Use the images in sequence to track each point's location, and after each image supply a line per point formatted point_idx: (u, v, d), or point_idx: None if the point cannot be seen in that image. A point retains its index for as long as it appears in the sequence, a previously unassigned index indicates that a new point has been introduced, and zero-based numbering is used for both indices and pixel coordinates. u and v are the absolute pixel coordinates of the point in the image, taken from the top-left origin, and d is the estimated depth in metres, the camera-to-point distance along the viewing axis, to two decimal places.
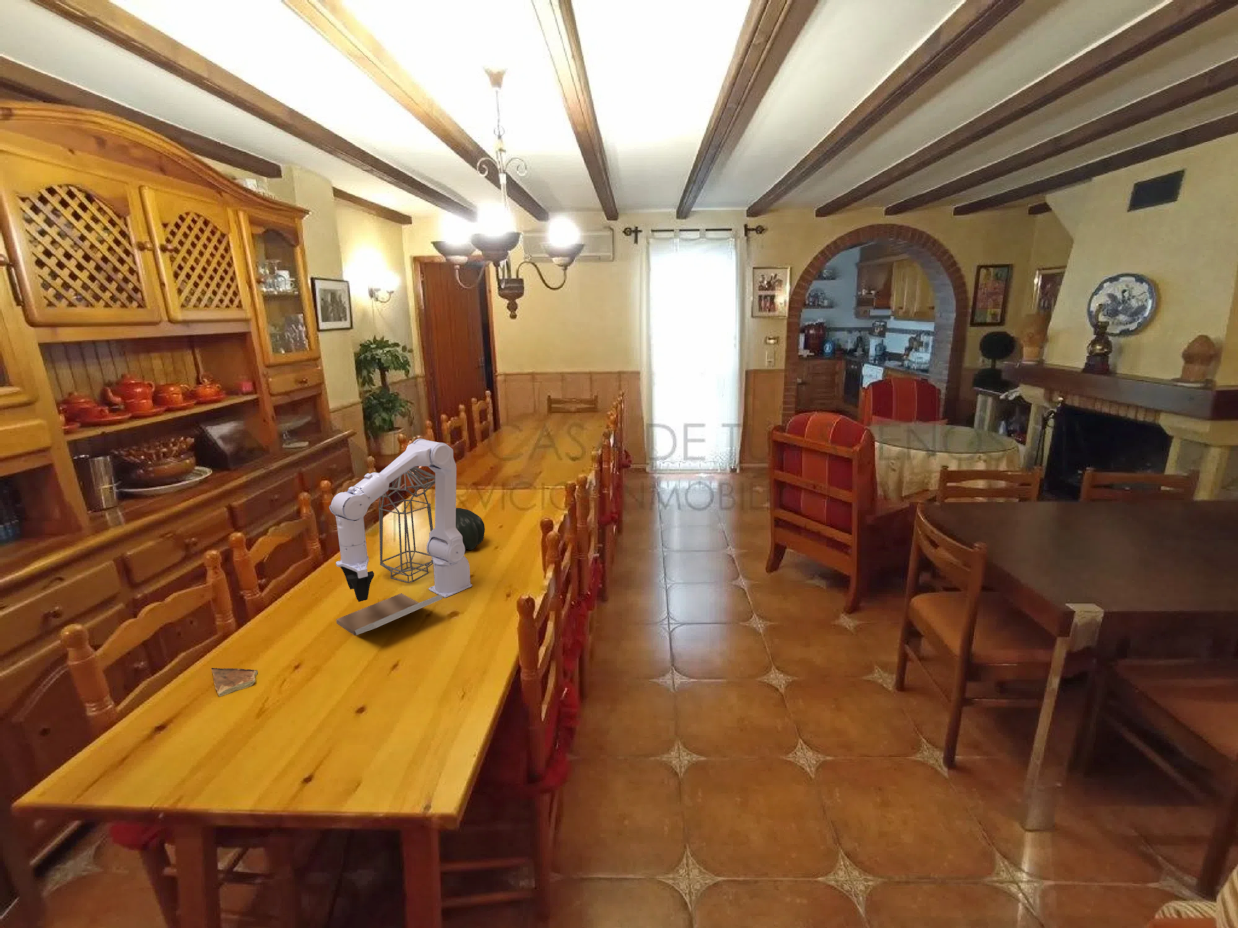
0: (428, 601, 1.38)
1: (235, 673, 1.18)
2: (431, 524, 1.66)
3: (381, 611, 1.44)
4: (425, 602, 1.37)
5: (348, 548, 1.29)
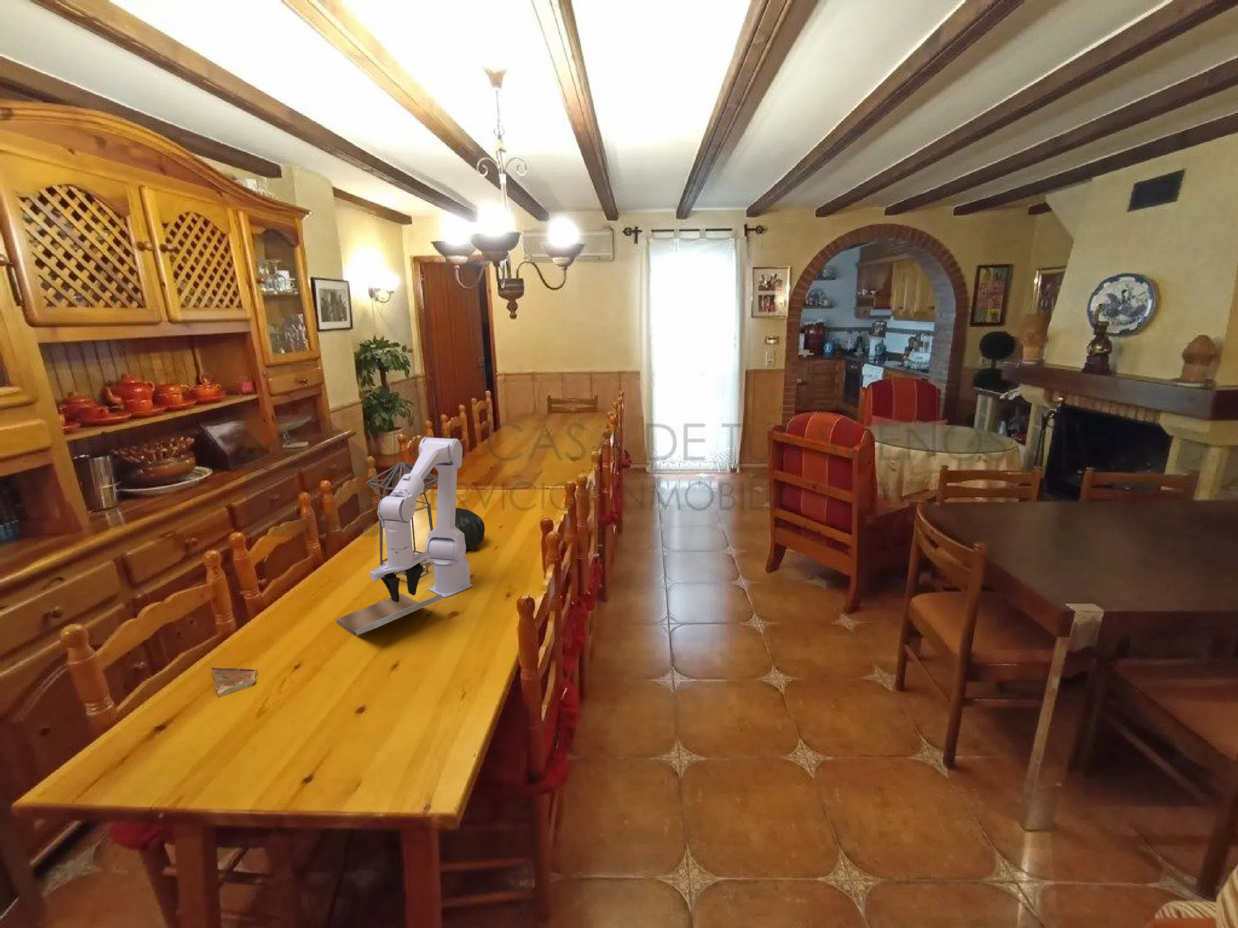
0: (428, 601, 1.38)
1: (235, 673, 1.18)
2: (431, 524, 1.66)
3: (381, 611, 1.44)
4: (425, 602, 1.37)
5: None
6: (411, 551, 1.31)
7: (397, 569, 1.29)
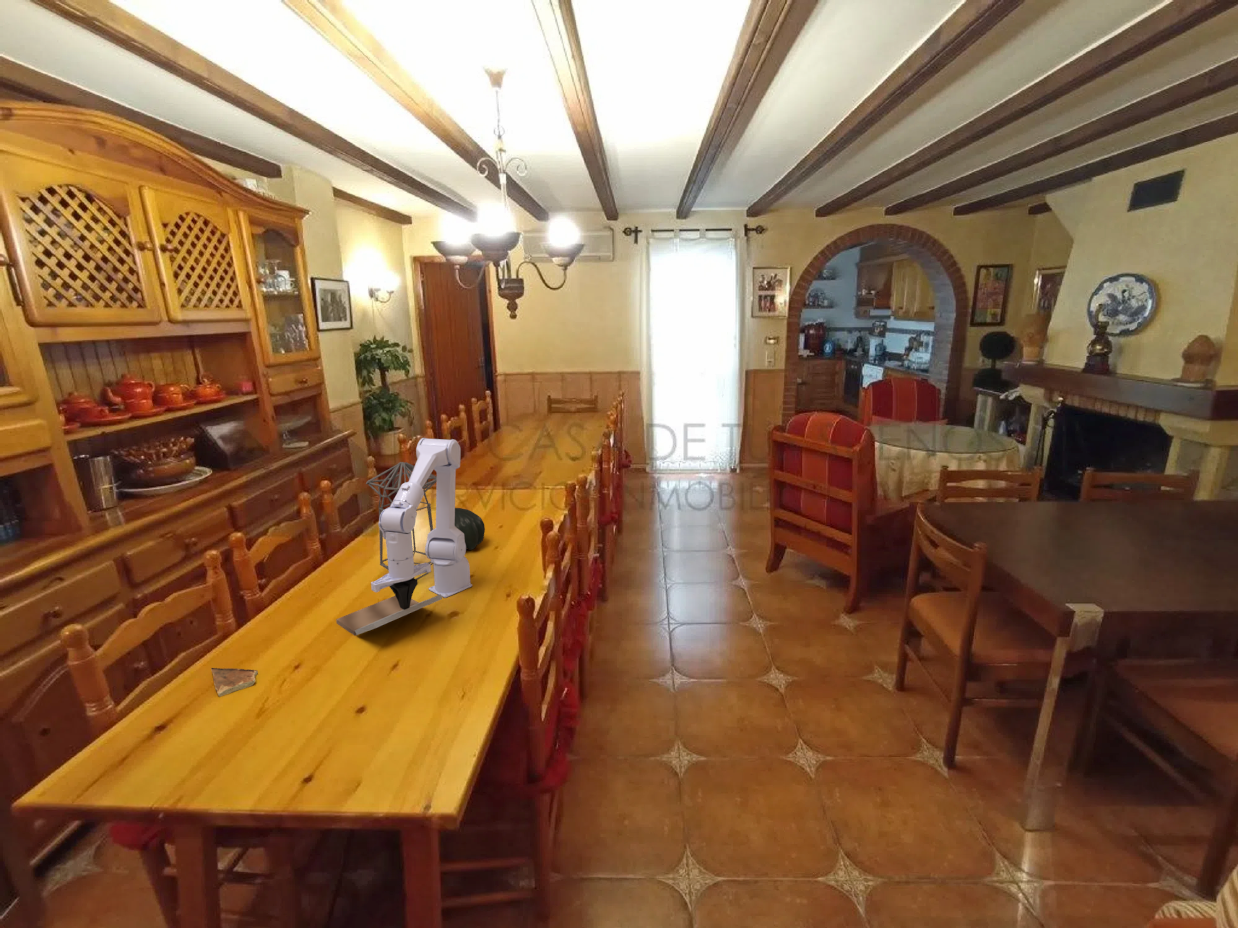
0: (428, 601, 1.38)
1: (235, 673, 1.18)
2: (431, 524, 1.66)
3: (381, 611, 1.44)
4: (425, 602, 1.37)
5: None
6: (412, 562, 1.32)
7: (398, 580, 1.30)
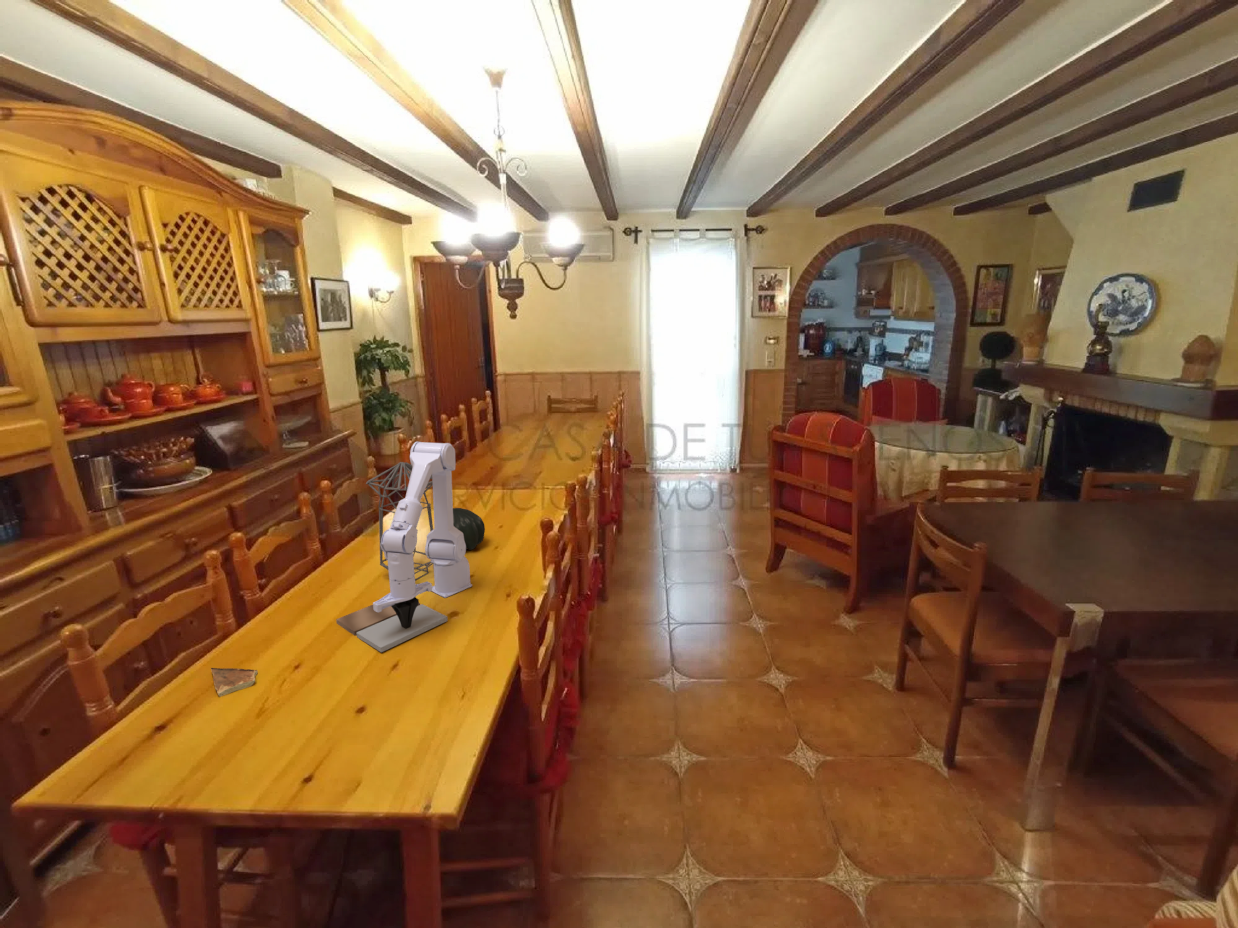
0: (434, 624, 1.38)
1: (235, 673, 1.18)
2: (431, 524, 1.66)
3: (381, 611, 1.44)
4: (431, 625, 1.38)
5: (389, 579, 1.32)
6: (413, 582, 1.33)
7: (400, 600, 1.31)
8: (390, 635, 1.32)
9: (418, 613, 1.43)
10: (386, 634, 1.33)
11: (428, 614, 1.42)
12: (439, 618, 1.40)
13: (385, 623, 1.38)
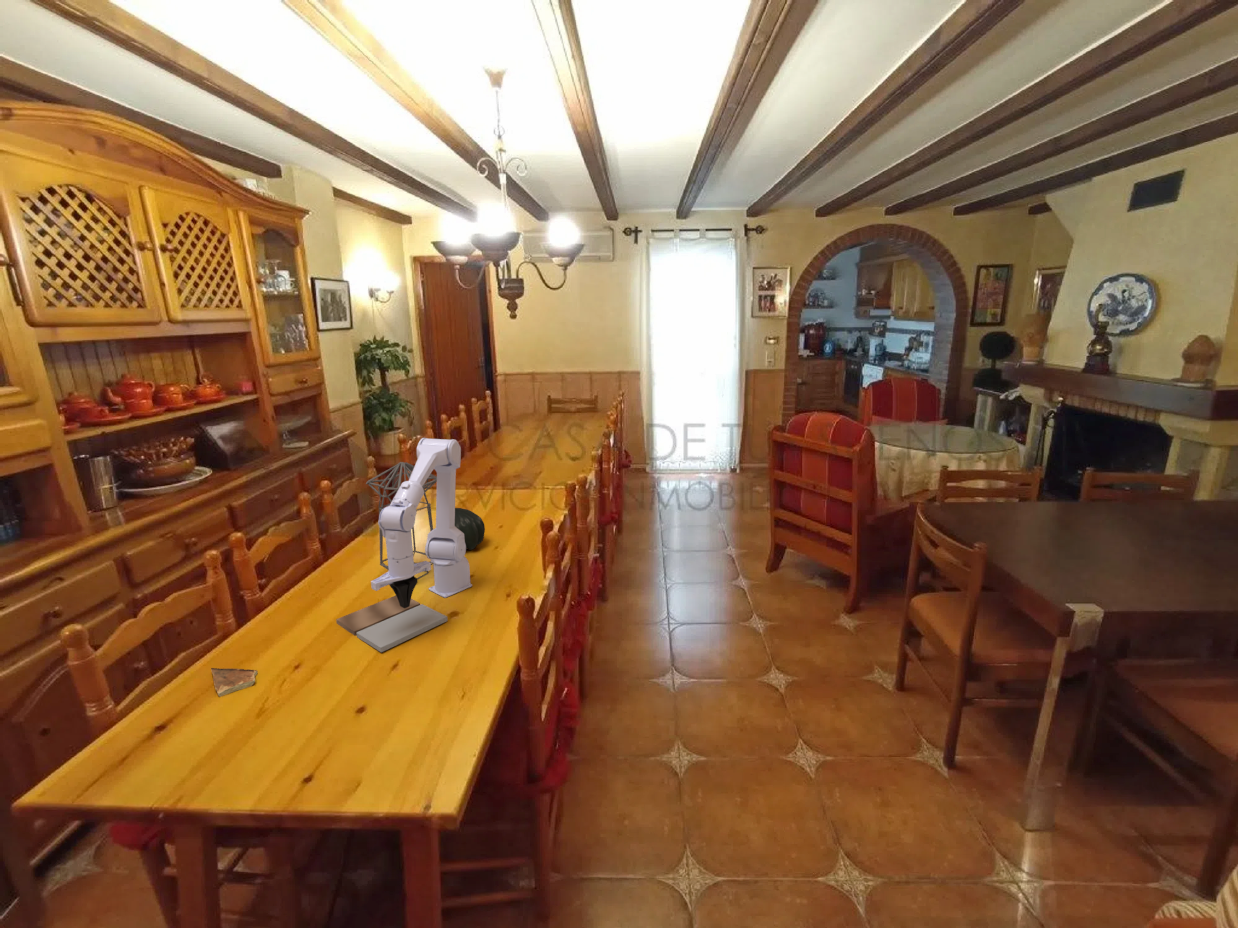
0: (434, 624, 1.38)
1: (235, 674, 1.18)
2: (431, 524, 1.66)
3: (381, 611, 1.44)
4: (431, 625, 1.38)
5: (387, 557, 1.31)
6: (412, 560, 1.32)
7: (398, 578, 1.30)
8: (390, 635, 1.32)
9: (418, 613, 1.43)
10: (386, 634, 1.33)
11: (428, 614, 1.42)
12: (439, 618, 1.40)
13: (385, 623, 1.38)
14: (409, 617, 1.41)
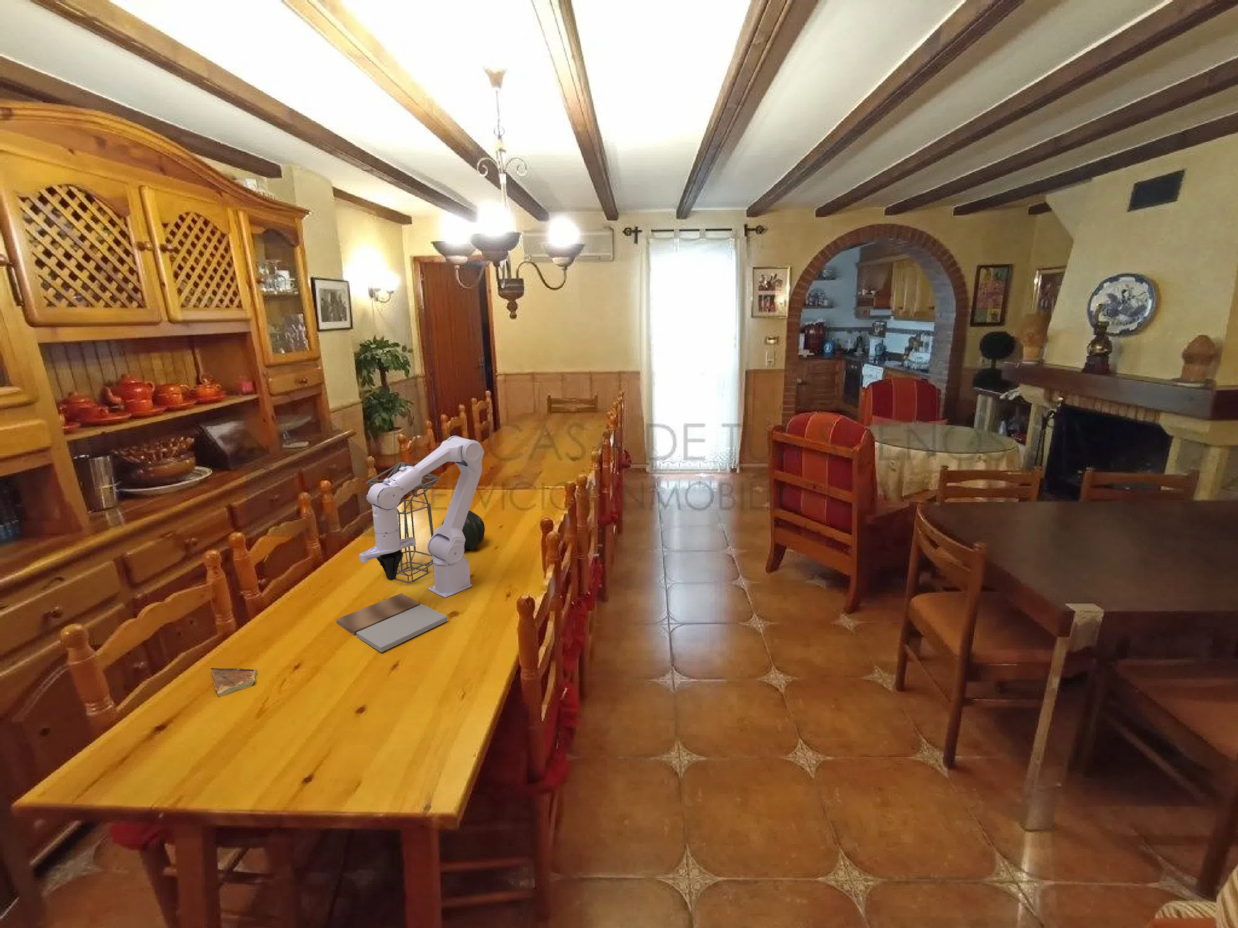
0: (434, 624, 1.38)
1: (235, 673, 1.18)
2: (431, 524, 1.66)
3: (381, 611, 1.44)
4: (431, 625, 1.38)
5: None
6: (398, 535, 1.41)
7: (385, 552, 1.39)
8: (390, 635, 1.32)
9: (418, 613, 1.43)
10: (386, 634, 1.33)
11: (428, 614, 1.42)
12: (439, 618, 1.40)
13: (385, 623, 1.38)
14: (409, 617, 1.41)
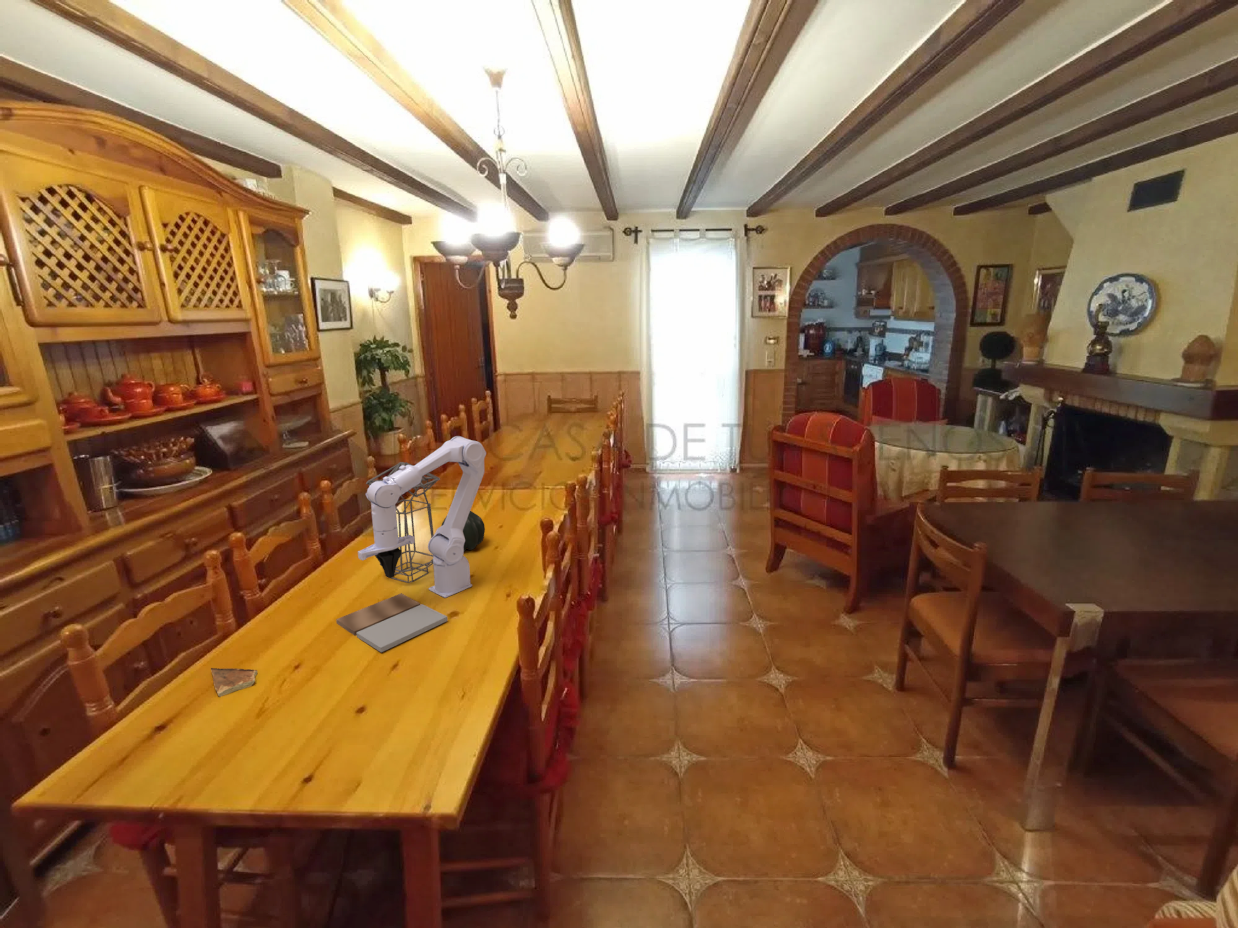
0: (434, 624, 1.38)
1: (235, 673, 1.18)
2: (431, 524, 1.66)
3: (381, 611, 1.44)
4: (431, 625, 1.38)
5: (373, 530, 1.41)
6: (396, 533, 1.42)
7: (383, 549, 1.40)
8: (390, 635, 1.32)
9: (418, 613, 1.43)
10: (386, 634, 1.33)
11: (428, 614, 1.42)
12: (439, 618, 1.40)
13: (385, 623, 1.38)
14: (409, 617, 1.41)
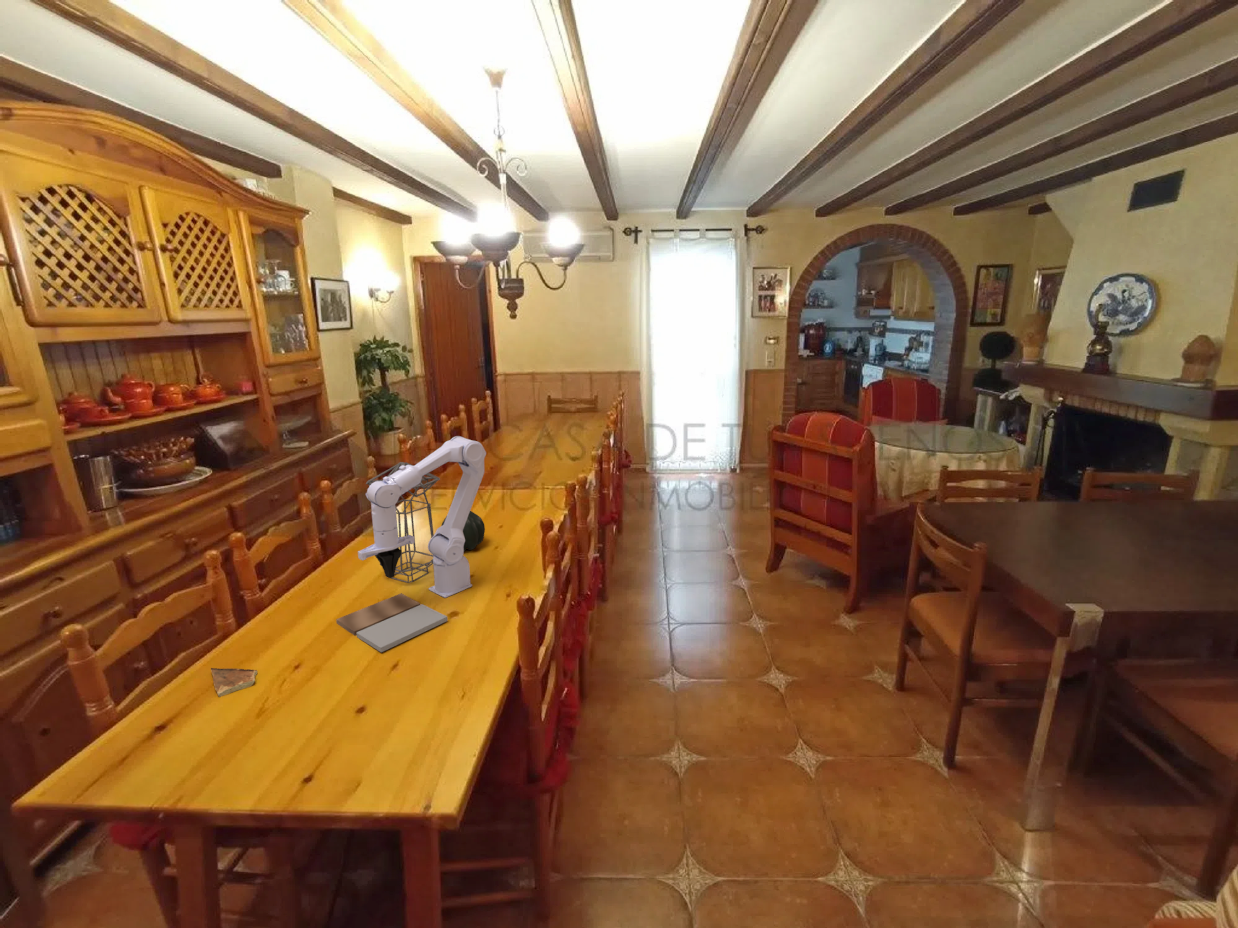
0: (434, 624, 1.38)
1: (235, 674, 1.18)
2: (431, 524, 1.66)
3: (381, 611, 1.44)
4: (431, 625, 1.38)
5: (373, 530, 1.41)
6: (396, 533, 1.42)
7: (383, 549, 1.40)
8: (390, 635, 1.32)
9: (418, 613, 1.43)
10: (386, 634, 1.33)
11: (428, 614, 1.42)
12: (439, 618, 1.40)
13: (385, 623, 1.38)
14: (409, 617, 1.41)
